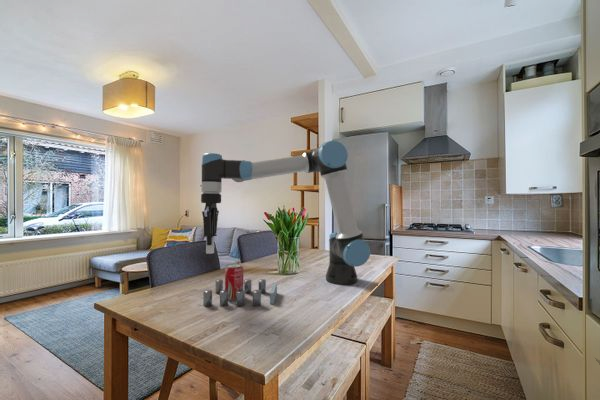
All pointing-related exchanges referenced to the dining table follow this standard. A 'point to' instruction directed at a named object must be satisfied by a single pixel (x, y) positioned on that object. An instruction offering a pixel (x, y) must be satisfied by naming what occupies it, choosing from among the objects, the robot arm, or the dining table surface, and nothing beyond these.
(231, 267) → the soda can
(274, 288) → the stop rail
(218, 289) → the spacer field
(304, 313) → the dining table surface
